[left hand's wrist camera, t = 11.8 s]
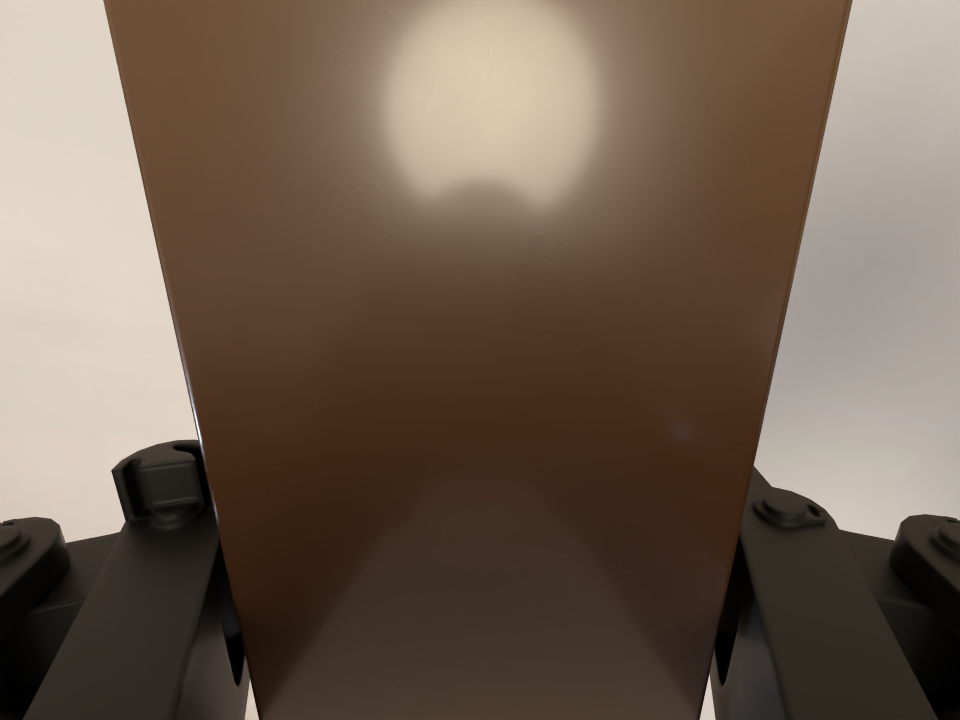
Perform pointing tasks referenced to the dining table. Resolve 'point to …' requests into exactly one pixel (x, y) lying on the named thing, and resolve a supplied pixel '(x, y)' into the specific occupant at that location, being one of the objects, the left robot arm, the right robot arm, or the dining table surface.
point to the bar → (478, 328)
